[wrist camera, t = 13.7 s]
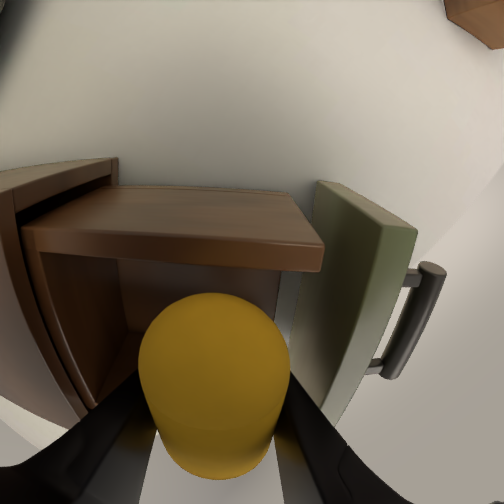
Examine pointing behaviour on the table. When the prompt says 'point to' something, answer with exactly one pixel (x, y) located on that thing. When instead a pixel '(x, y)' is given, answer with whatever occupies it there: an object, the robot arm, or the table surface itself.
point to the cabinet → (23, 294)
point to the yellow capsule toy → (214, 382)
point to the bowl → (2, 5)
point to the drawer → (229, 277)
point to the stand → (479, 19)
